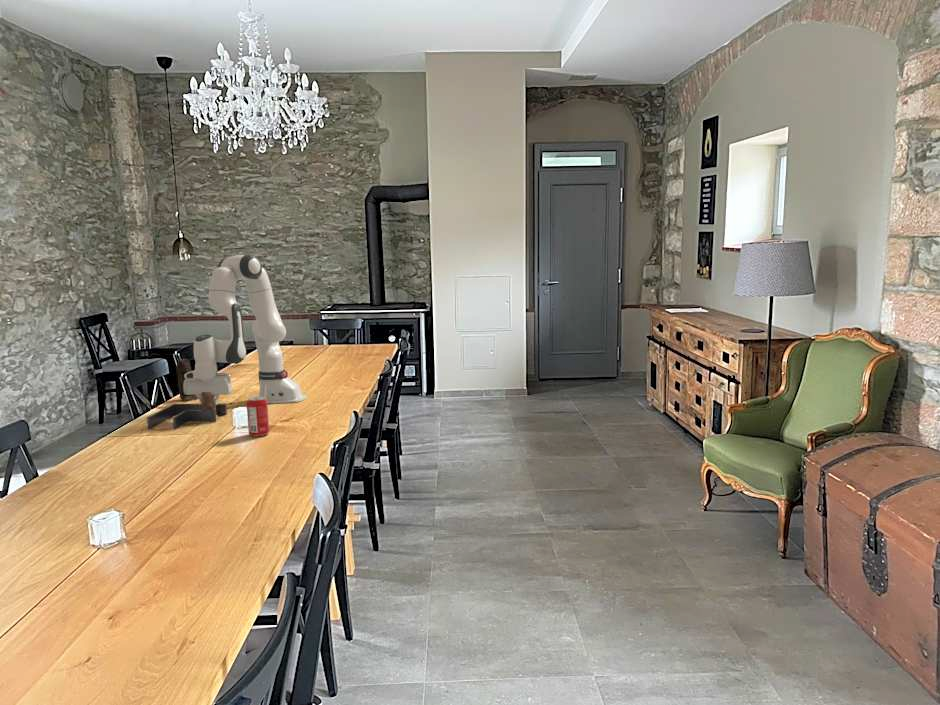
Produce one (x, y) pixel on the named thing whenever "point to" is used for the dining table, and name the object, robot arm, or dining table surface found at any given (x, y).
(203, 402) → the walnut block
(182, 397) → the statue
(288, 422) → the dining table surface
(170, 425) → the pad
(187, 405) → the channel
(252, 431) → the soda can
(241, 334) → the robot arm
